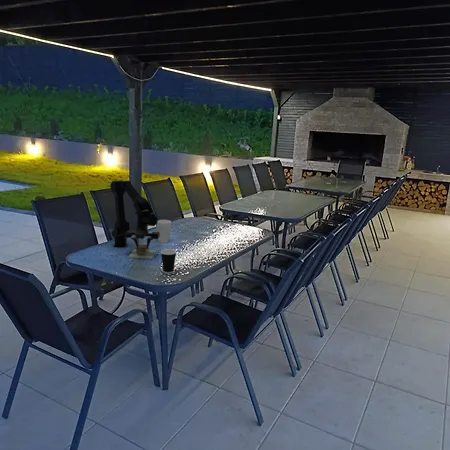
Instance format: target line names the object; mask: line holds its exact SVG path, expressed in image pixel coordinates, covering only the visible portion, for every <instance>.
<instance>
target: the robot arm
mask: <svg viewBox="0 0 450 450" xmlns="http://www.w3.org/2000/svg"><path fill="white" fill-rule="evenodd" d="M109 187H110V190H111V193H112V195H113V196H114V202H115V213H116V214H115V215H116V216H115V217H116V221H115V223H114V228H113V230H112V231H111V237H113V238H114V245H113V247H115V248H125V247H126V246H127V245H128V239H129V238H130V239H131V240H133V242H134V243H135V246H136V248H137V247H138V246H139V245H140V243H139V239H140V240H143V239H145V238H146V237H147V238H146V244H147V249H148V247H149V248H150V244H151V241H153V240H158V238H159V237H160V233H159V232H157V231H152V232H151V233H150V232H149V229H148V228H149V227H148V226H151V227H154V226H156V224H157V222H158V217H157V215H155V213H154V212H153V209H152V206H151V204H150V202H149V201H148V200H147V199H146V198H145V197H143V196H141V194H139V192H138V191H137V190H136V188H135V187H134V186H133V184H132V182H131V181H130V180H121V179H120V180H113V181H111V183H110V185H109ZM125 194H127V195H128V197H129V198H130V199H131V201H132V202H133V207H134V209H135V210H136V211H135V212H134V213H135V215H136V216H137V217H136V221H137V222H136V224H137V225H136V230H135V231H134V230H131V228H130V222H129V221H127V220H126V212H125V200H124V195H125ZM148 250H149V249H148Z"/></svg>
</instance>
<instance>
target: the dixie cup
mask: <svg viewBox="0 0 450 450" xmlns="http://www.w3.org/2000/svg"><path fill="white" fill-rule="evenodd" d="M160 254H161V255H160V256H161V263H162V270H163V274H166V275H170V274H173V273H174V271H175V263H176V255H177V251H176V250H175V249H166V248H165V249H161V250H160Z"/></svg>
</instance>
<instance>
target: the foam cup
mask: <svg viewBox="0 0 450 450" xmlns="http://www.w3.org/2000/svg"><path fill="white" fill-rule="evenodd" d="M155 226H156V232H159V233H160V237H159V238H158V239H157V240H158V243H163V244H164V243H165V244H166V243H168V242H169V241H170V234H171V227H172V221H171V220H170V219H169V220H168V219H159V220H158V222H157V224H156V225H155Z"/></svg>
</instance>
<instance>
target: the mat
mask: <svg viewBox="0 0 450 450" xmlns="http://www.w3.org/2000/svg"><path fill="white" fill-rule="evenodd" d="M156 253H157V250H156V249H148V251H147V252H146V254H136V249H133V250H132V251H131V253H130V254H129V255H128V258H130V259H151V260H152V259H153V258H154V256H155V254H156Z"/></svg>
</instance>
